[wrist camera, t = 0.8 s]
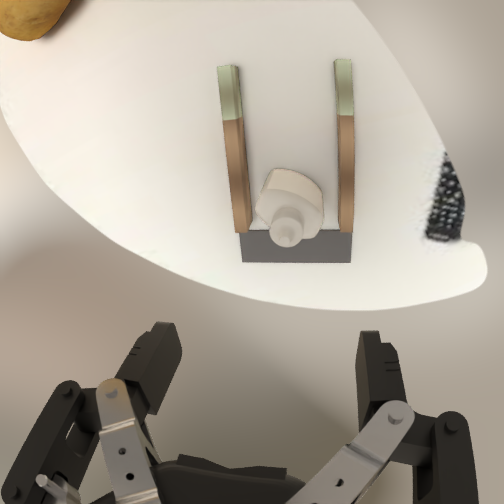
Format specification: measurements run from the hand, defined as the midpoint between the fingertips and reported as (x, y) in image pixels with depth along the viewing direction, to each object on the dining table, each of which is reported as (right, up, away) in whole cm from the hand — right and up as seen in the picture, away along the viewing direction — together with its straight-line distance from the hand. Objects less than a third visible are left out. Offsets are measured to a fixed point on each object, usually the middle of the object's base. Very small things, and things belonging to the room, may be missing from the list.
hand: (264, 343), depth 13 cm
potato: (-23, +35, +11) cm, 43 cm away
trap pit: (+4, +4, +22) cm, 23 cm away
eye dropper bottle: (+4, +10, +19) cm, 22 cm away
